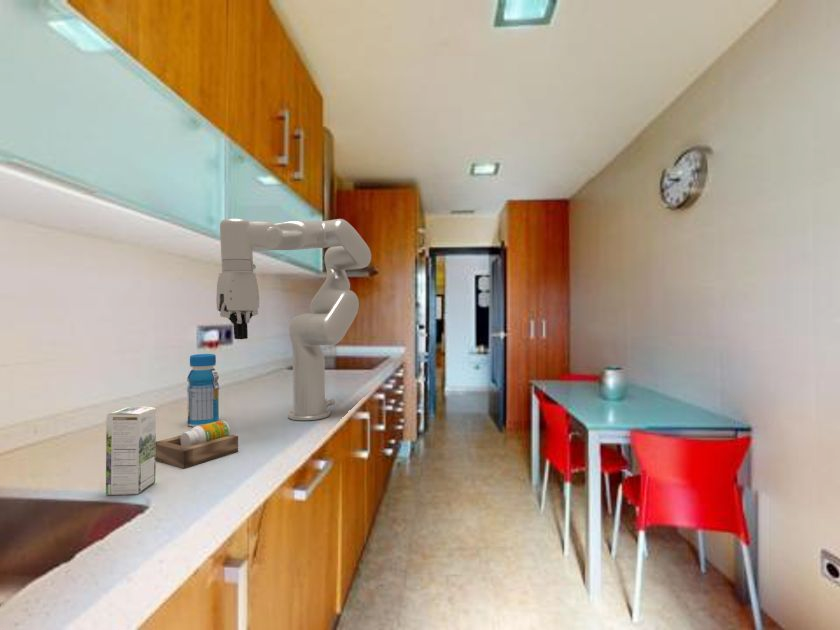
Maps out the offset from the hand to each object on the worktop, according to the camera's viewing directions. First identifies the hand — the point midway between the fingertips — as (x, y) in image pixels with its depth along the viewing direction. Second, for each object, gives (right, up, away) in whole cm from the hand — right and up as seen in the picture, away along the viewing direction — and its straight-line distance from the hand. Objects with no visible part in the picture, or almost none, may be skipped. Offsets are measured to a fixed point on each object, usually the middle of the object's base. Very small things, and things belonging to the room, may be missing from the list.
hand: (241, 338), depth 116 cm
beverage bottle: (-16, -26, +13) cm, 33 cm away
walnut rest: (-4, -25, -15) cm, 30 cm away
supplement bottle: (-1, -22, -8) cm, 23 cm away
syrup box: (-6, -26, -34) cm, 43 cm away
